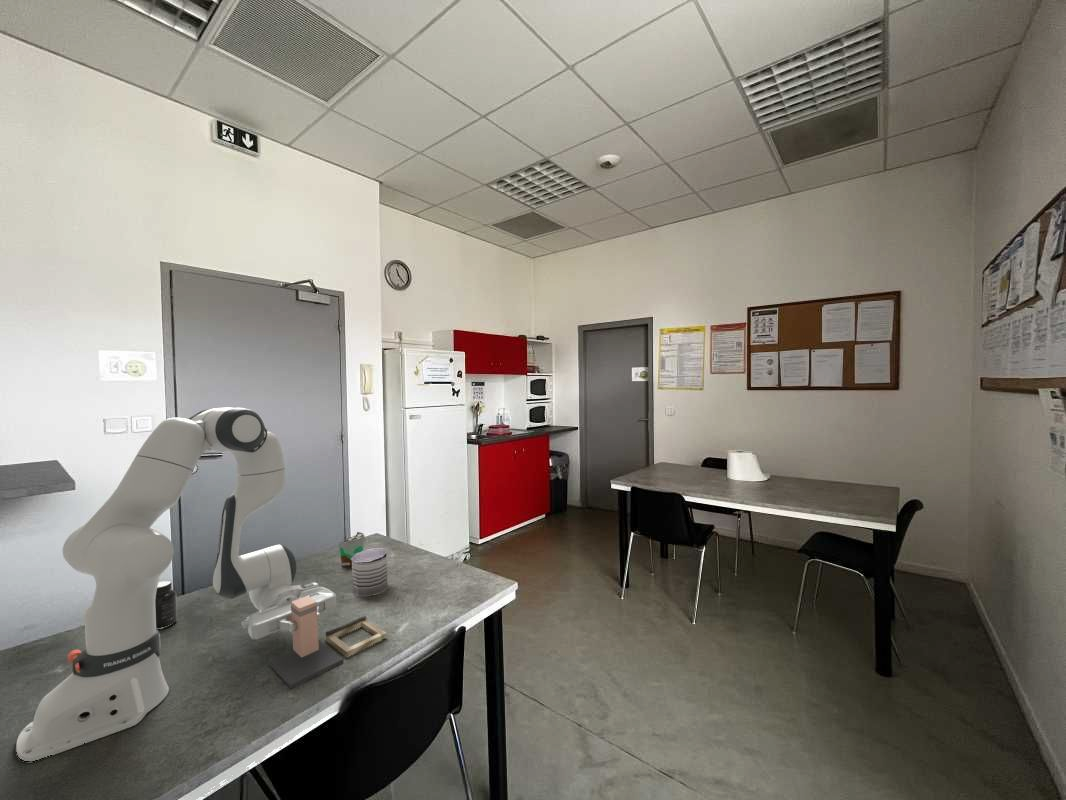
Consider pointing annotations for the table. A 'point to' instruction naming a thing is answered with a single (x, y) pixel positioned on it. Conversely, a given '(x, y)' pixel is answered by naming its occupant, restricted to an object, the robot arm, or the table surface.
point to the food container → (351, 548)
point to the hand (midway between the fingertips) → (306, 622)
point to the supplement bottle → (165, 604)
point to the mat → (304, 664)
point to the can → (369, 572)
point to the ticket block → (305, 626)
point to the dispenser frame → (348, 627)
